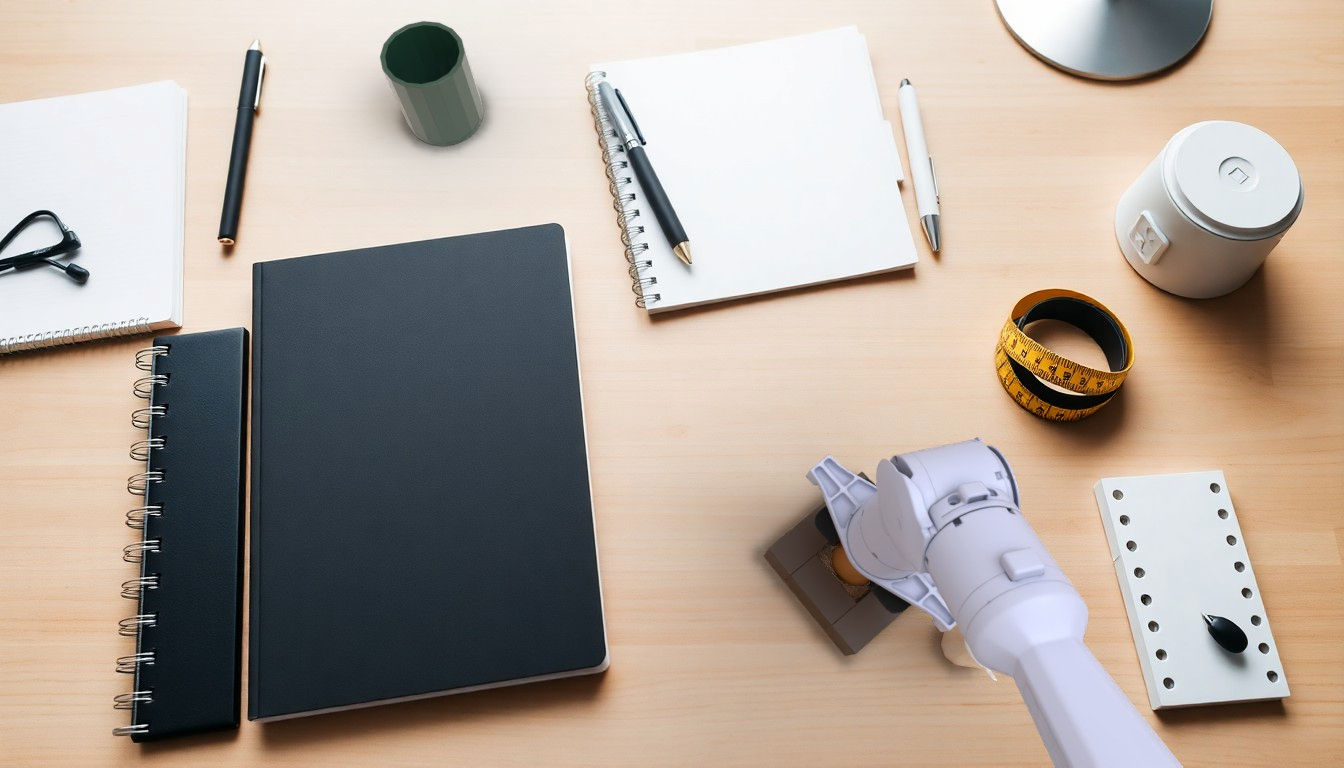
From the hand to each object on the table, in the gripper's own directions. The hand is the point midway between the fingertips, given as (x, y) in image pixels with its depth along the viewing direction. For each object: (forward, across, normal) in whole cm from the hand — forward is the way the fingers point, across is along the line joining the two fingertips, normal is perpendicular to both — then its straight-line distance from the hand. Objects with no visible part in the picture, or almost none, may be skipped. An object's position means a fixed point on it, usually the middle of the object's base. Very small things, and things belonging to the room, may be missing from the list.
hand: (859, 558), depth 68 cm
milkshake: (+4, -11, -2) cm, 12 cm away
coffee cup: (+4, +62, +2) cm, 62 cm away
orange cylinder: (+2, 0, 0) cm, 2 cm away
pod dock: (+4, 0, 0) cm, 4 cm away
